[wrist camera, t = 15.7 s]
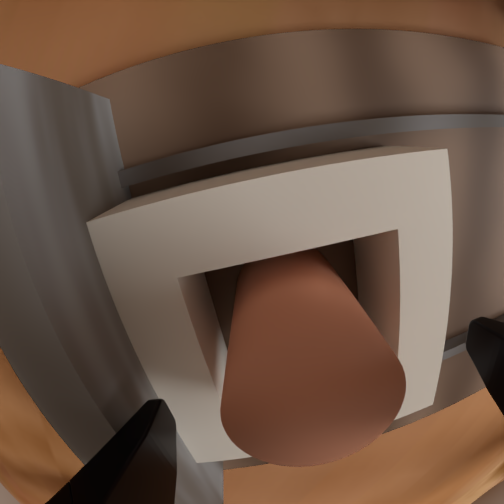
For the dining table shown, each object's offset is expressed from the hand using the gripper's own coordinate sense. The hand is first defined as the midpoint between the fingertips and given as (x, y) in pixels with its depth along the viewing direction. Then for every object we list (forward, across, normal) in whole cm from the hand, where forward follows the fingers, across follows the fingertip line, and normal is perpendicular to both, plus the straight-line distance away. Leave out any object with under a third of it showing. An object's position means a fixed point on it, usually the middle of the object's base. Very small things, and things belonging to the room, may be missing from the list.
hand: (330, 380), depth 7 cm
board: (+7, -4, +1) cm, 8 cm away
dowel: (+6, 0, 0) cm, 6 cm away
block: (+6, 0, 0) cm, 6 cm away
